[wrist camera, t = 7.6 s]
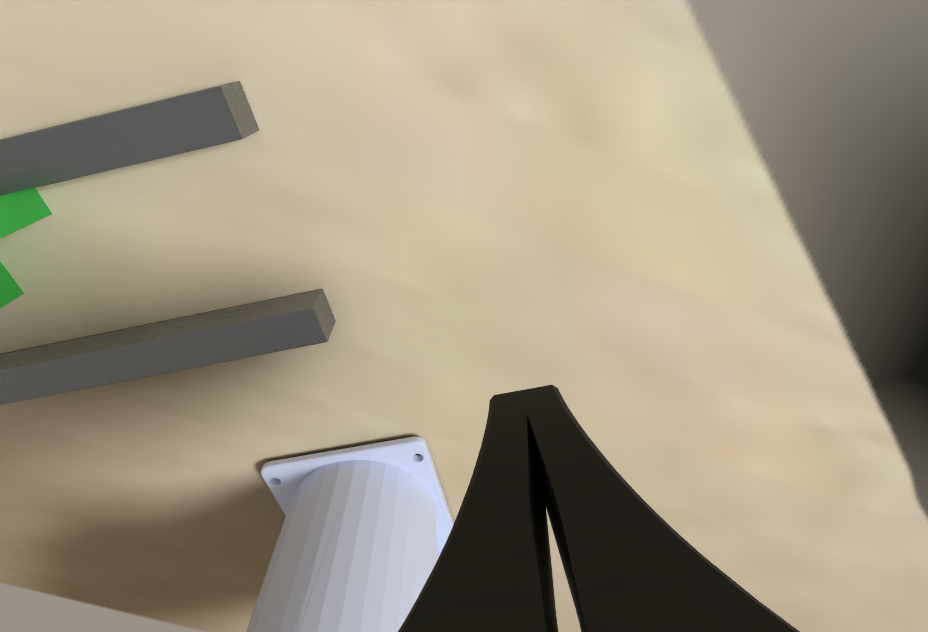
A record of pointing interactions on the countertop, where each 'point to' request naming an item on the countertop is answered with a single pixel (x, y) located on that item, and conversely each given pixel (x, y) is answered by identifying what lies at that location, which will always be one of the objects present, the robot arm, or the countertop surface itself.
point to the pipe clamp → (11, 216)
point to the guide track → (165, 342)
